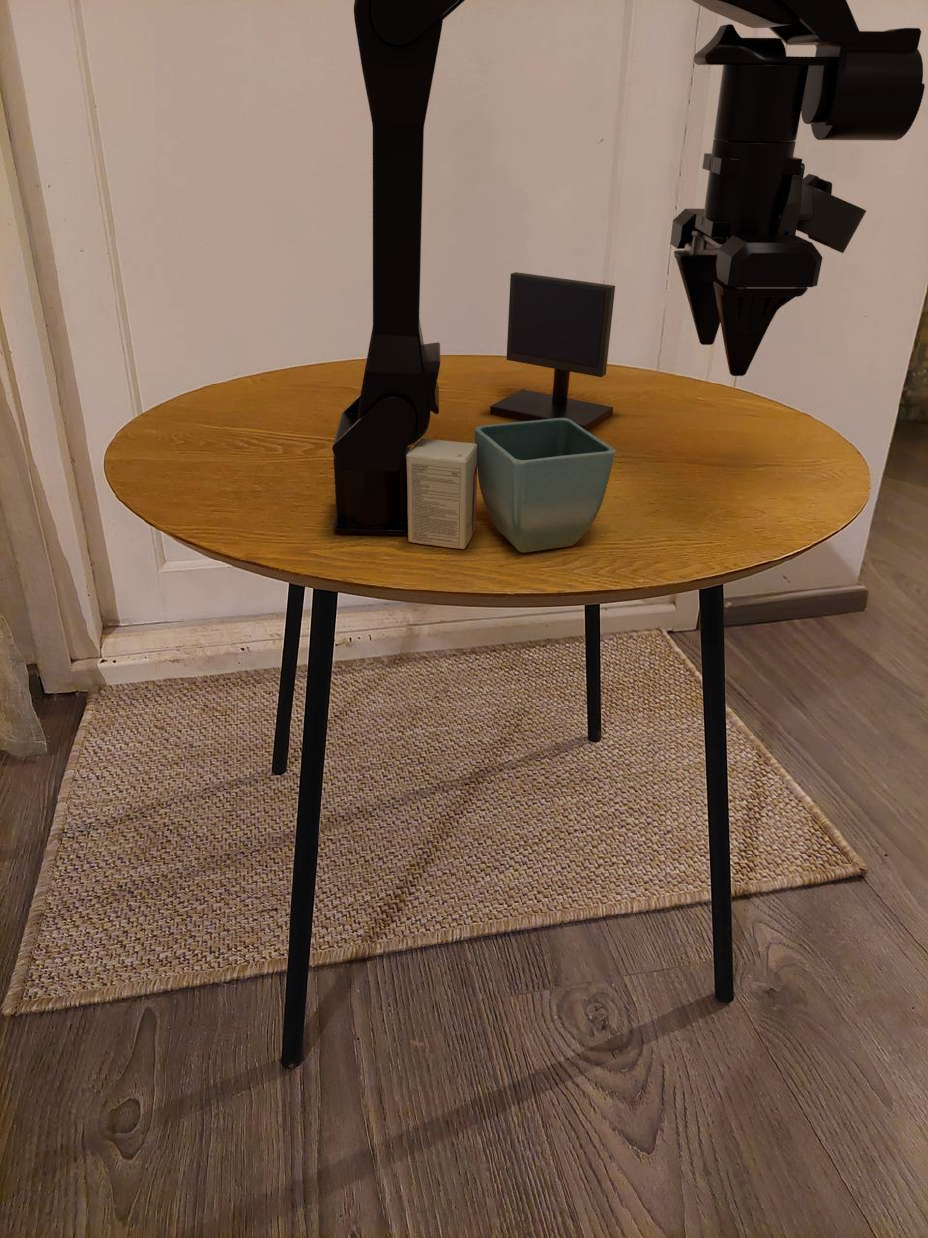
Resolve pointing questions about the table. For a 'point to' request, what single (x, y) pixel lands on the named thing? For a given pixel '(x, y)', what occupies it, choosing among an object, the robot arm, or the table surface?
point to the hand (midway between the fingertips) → (721, 358)
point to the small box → (442, 492)
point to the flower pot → (542, 480)
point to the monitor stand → (552, 405)
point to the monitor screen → (559, 323)
